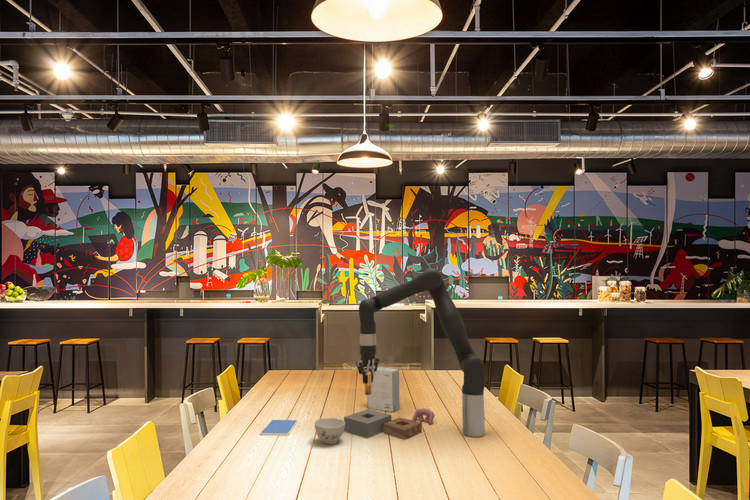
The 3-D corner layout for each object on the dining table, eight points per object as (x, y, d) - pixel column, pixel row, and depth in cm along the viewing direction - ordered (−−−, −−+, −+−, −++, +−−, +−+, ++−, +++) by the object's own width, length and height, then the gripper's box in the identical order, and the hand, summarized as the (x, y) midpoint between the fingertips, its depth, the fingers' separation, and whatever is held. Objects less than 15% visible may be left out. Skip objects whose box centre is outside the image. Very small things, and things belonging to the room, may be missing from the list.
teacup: (341, 448, 174) (341, 427, 175) (310, 446, 176) (310, 426, 177) (348, 435, 189) (348, 416, 190) (320, 433, 191) (320, 414, 192)
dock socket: (368, 421, 206) (368, 408, 207) (391, 428, 197) (391, 414, 198) (344, 430, 194) (344, 417, 195) (367, 438, 185) (367, 423, 186)
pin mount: (400, 426, 200) (400, 417, 201) (421, 432, 193) (421, 422, 193) (383, 433, 191) (383, 423, 192) (405, 439, 184) (405, 429, 184)
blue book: (271, 422, 209) (271, 419, 209) (298, 422, 208) (298, 419, 208) (259, 436, 189) (259, 433, 189) (288, 437, 189) (288, 433, 189)
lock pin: (367, 392, 199) (367, 370, 200) (372, 393, 197) (372, 371, 198) (363, 394, 197) (363, 371, 197) (368, 395, 195) (368, 372, 195)
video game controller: (434, 426, 204) (436, 411, 208) (430, 424, 201) (432, 408, 204) (414, 423, 210) (417, 408, 213) (410, 421, 206) (413, 405, 209)
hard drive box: (400, 409, 227) (400, 369, 228) (392, 412, 221) (392, 372, 222) (374, 404, 235) (374, 366, 237) (366, 408, 229) (366, 369, 230)
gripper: (372, 341, 206) (372, 378, 205) (351, 344, 195) (351, 384, 194) (384, 342, 201) (384, 381, 200) (363, 346, 191) (363, 387, 189)
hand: (367, 382), depth 197 cm, fingers closed on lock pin, 3 cm apart
